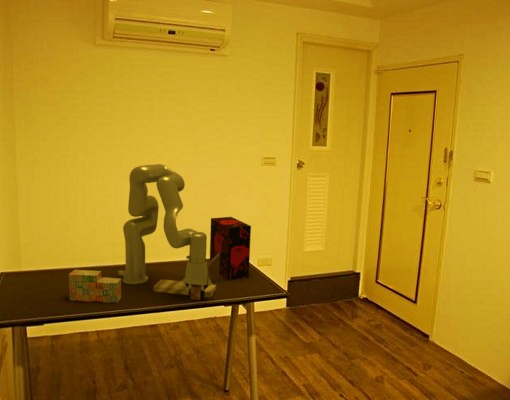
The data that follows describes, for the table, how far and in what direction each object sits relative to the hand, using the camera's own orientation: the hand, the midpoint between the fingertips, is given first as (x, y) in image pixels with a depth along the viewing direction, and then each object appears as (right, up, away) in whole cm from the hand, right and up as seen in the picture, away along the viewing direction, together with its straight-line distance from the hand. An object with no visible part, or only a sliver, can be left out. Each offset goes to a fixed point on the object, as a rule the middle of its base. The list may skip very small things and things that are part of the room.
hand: (196, 296), depth 205 cm
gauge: (+1, 0, +5) cm, 5 cm away
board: (-7, +1, +9) cm, 11 cm away
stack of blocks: (-44, 0, -6) cm, 45 cm away
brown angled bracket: (+3, +3, +23) cm, 23 cm away
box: (+12, +5, +37) cm, 40 cm away
